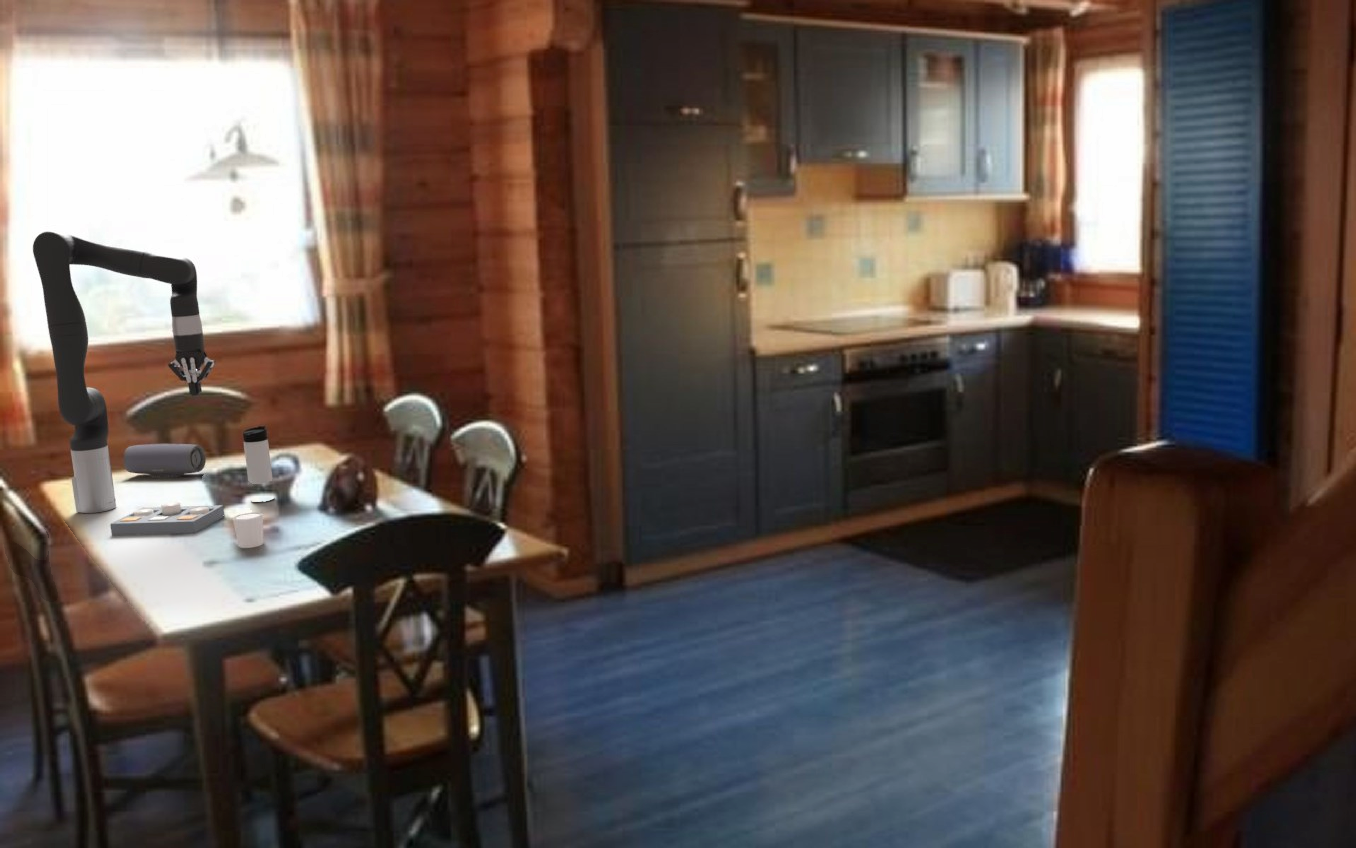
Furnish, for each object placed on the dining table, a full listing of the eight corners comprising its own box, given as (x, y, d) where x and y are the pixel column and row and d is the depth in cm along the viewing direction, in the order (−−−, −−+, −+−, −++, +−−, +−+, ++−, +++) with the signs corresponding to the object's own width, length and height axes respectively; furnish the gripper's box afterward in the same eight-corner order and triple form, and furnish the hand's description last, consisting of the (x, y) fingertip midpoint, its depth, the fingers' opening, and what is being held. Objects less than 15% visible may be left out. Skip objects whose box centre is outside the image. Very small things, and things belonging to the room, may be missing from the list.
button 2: (187, 523, 330) (186, 511, 329) (196, 518, 334) (194, 507, 334) (204, 522, 329) (203, 511, 329) (213, 518, 334) (211, 506, 333)
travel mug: (280, 497, 355) (272, 425, 351) (263, 503, 349) (254, 430, 345) (262, 496, 358) (254, 425, 354) (245, 502, 352) (236, 430, 348)
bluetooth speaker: (209, 472, 395) (205, 440, 394) (191, 479, 386) (187, 446, 385) (143, 472, 401) (139, 441, 399) (124, 479, 392) (120, 447, 390)
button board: (111, 535, 324) (110, 523, 324) (144, 518, 340) (143, 506, 339) (195, 533, 322) (193, 520, 321) (224, 516, 337) (223, 504, 337)
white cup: (238, 550, 303) (234, 521, 302) (233, 544, 309) (230, 515, 308) (268, 545, 306) (265, 516, 305) (263, 539, 312) (259, 510, 311)
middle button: (159, 518, 330) (157, 507, 330) (168, 514, 335) (166, 502, 334) (176, 518, 330) (174, 506, 329) (184, 513, 334) (183, 502, 334)
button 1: (132, 525, 331) (130, 513, 331) (141, 520, 336) (139, 509, 335) (149, 524, 331) (147, 513, 330) (158, 519, 335) (156, 508, 335)
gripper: (217, 329, 353) (225, 392, 356) (171, 331, 354) (179, 394, 358) (204, 332, 345) (212, 397, 349) (157, 335, 347) (166, 399, 350)
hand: (195, 395), depth 353 cm, fingers closed
